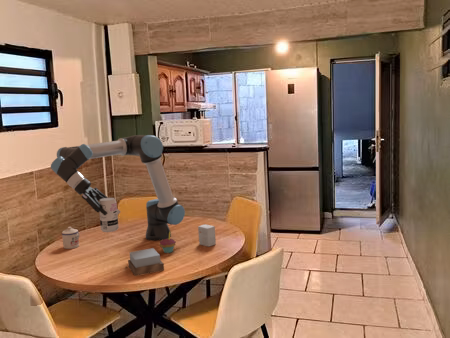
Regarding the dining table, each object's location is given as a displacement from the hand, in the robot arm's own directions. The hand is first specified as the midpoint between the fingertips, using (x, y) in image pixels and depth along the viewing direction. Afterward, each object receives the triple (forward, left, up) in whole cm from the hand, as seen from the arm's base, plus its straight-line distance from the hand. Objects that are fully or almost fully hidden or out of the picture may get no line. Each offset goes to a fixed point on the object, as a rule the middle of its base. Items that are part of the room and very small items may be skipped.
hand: (115, 216), depth 207 cm
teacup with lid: (+16, -57, -28) cm, 65 cm away
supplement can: (+3, -2, -7) cm, 8 cm away
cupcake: (-29, -17, -28) cm, 44 cm away
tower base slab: (-12, +2, -28) cm, 31 cm away
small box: (-52, -17, -28) cm, 61 cm away
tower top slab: (-12, +1, -24) cm, 27 cm away
